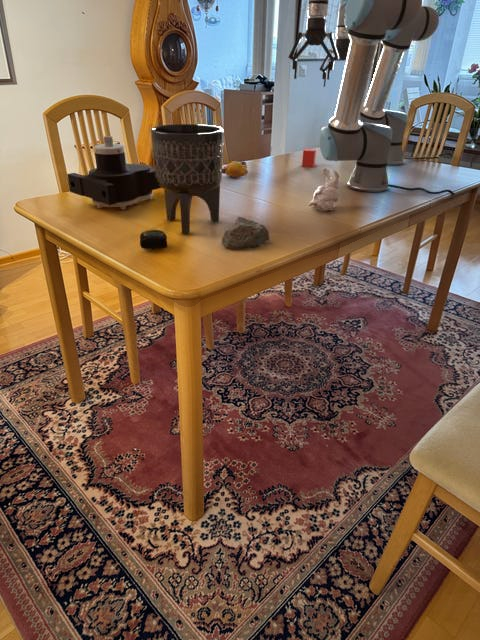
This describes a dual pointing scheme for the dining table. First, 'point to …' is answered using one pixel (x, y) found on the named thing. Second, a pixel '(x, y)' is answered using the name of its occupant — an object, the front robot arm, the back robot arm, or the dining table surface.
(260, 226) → the rock
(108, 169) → the mechanical component
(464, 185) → the dining table surface
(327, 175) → the figurine
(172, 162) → the planter
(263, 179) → the dining table surface
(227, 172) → the toy
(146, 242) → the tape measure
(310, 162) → the brick
